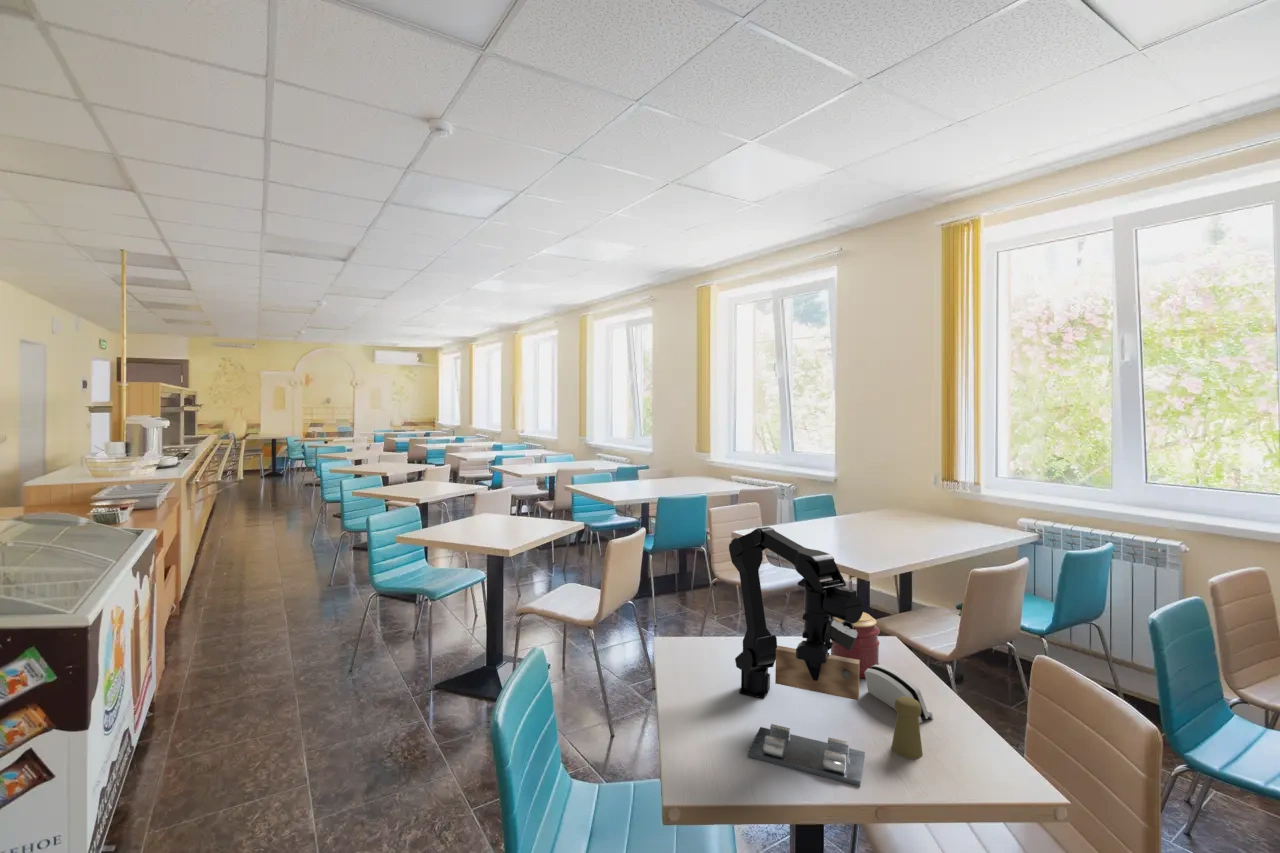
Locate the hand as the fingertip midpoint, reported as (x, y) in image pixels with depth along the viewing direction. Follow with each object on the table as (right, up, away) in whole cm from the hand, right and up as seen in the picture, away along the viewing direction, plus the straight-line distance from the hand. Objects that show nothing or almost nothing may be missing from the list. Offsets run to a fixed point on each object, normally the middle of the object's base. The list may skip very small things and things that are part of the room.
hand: (816, 678), depth 133 cm
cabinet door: (0, -3, 0) cm, 3 cm away
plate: (-5, -12, -11) cm, 17 cm away
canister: (+20, -12, +33) cm, 40 cm away
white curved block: (+23, -12, +11) cm, 28 cm away
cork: (+17, -12, -8) cm, 22 cm away
